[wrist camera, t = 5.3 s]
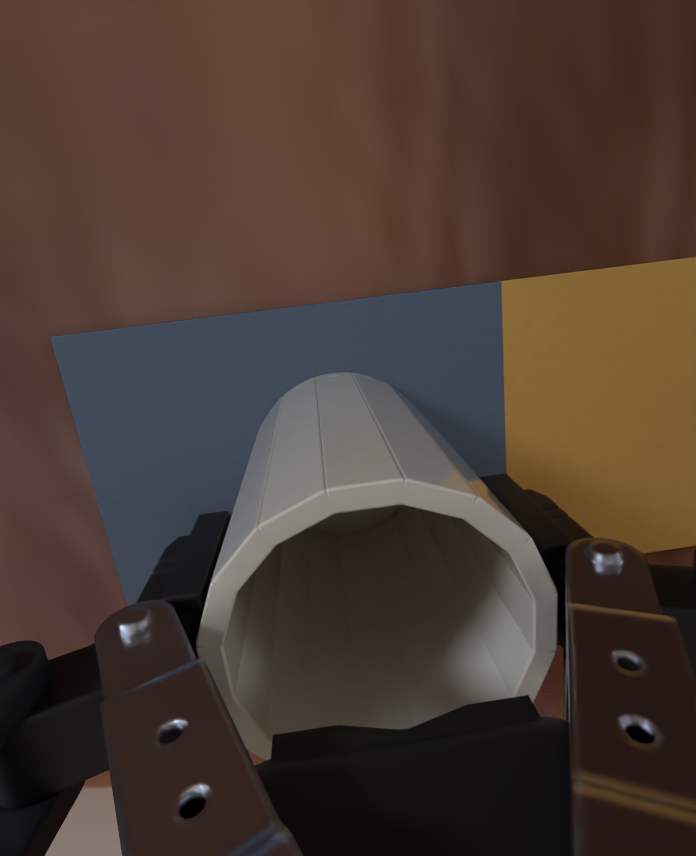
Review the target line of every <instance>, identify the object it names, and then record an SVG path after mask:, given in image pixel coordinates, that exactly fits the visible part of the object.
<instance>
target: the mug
mask: <svg viewBox="0 0 696 856" xmlns="http://www.w3.org/2000/svg"><path fill="white" fill-rule="evenodd" d="M557 641H558V593H557V588H556V586H555V584H554V582H553V580H552V578H551V576H550V573H549V571H548V569H547V567H546V565H545V563H544V561H543V559H542V557H541V555H540V553H539V551H538V549H537V547H536V545H535V543H534V541H533V539H532V537H531V536H530V535H529V534H528V533H527V531H526V530H525V529H524V528H523V527H522V526H521V525H520V524H519V522H518V521H517V520H516V519H515V518H514V517H513V516H512V514H511V513H510V512H509V511H508V510H507V509H506V508H505V507H504V505H503V504H502V503H501V502H500V501H499V500H498V499H497V498H496V496H495V495H494V494H493V493H492V492H491V491H490V490H489V488H488V487H487V486H486V485H485V484H484V483H483V482H482V481H481V479H480V478H479V477H478V476H477V475H476V474H475V473H474V471H473V470H472V469H471V468H470V467H469V466H468V465H467V464H466V462H465V461H464V460H463V459H462V458H461V457H460V456H459V455H458V453H457V452H456V451H455V450H454V449H453V448H452V447H451V445H450V444H449V443H448V442H447V441H446V440H445V439H444V438H443V436H442V435H441V434H440V433H439V432H438V431H437V430H436V428H435V427H434V426H433V425H432V424H431V423H430V422H429V421H428V419H427V418H426V417H425V416H424V415H423V414H422V413H421V412H420V410H419V409H418V408H417V407H416V406H415V405H414V404H413V403H412V402H410V401H409V400H408V399H407V398H406V397H405V396H404V395H403V394H401V393H400V392H399V391H398V390H397V389H395V388H394V387H392V386H391V385H389V384H387V383H385V382H383V381H381V380H379V379H377V378H374V377H371V376H368V375H363V374H358V373H348V372H341V373H330V374H325V375H320V376H317V377H314V378H311V379H308V380H306V381H304V382H302V383H300V384H298V385H297V386H295V387H294V388H292V389H291V390H289V391H288V392H287V393H285V394H284V395H283V396H282V397H281V398H280V399H279V400H278V401H277V402H276V403H275V404H274V405H273V407H272V408H271V409H270V411H269V412H268V414H267V415H266V417H265V419H264V421H263V422H262V424H261V425H260V427H259V430H258V433H257V436H256V440H255V443H254V446H253V449H252V452H251V455H250V459H249V462H248V465H247V468H246V471H245V474H244V478H243V481H242V484H241V487H240V490H239V494H238V497H237V500H236V503H235V506H234V509H233V513H232V516H231V519H230V522H229V525H228V528H227V532H226V535H225V538H224V541H223V544H222V547H221V551H220V554H219V557H218V560H217V563H216V566H215V570H214V573H213V576H212V579H211V582H210V586H209V590H208V594H207V598H206V602H205V606H204V610H203V614H202V618H201V622H200V626H199V630H198V635H197V639H196V651H197V655H198V658H199V657H203V659H204V660H205V662H206V664H207V666H208V668H209V671H210V673H211V675H212V677H213V679H214V681H215V683H216V685H217V688H218V690H219V692H220V694H221V696H222V698H223V700H224V702H225V705H226V707H227V709H228V711H229V713H230V715H231V717H232V719H233V721H234V724H235V726H236V728H237V730H238V732H239V734H240V736H241V738H242V741H243V743H244V745H245V747H246V749H247V750H249V751H250V752H251V753H253V754H255V755H257V756H259V757H261V758H263V759H265V760H266V761H267V760H269V759H271V751H272V737H273V735H276V734H282V733H289V732H295V731H301V730H308V729H314V728H320V727H327V726H333V725H344V726H358V727H371V728H385V729H408V728H411V727H414V726H416V725H419V724H421V723H424V722H426V721H428V720H431V719H433V718H436V717H438V716H440V715H443V714H445V713H448V712H450V711H453V710H455V709H457V708H460V707H462V706H465V705H468V704H474V703H480V702H487V701H493V700H499V699H506V698H512V697H519V696H525V695H529V697H530V699H531V701H532V703H533V702H534V700H535V698H536V696H537V694H538V692H539V689H540V687H541V685H542V683H543V681H544V679H545V677H546V675H547V672H548V670H549V668H550V666H551V664H552V662H553V660H554V658H555V655H556V651H557Z"/></svg>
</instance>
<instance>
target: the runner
mask: <svg viewBox="0 0 696 856" xmlns="http://www.w3.org/2000/svg"><path fill="white" fill-rule="evenodd" d="M51 341H52V345H53V348H54V351H55V355H56V358H57V362H58V365H59V369H60V372H61V376H62V379H63V383H64V386H65V390H66V393H67V397H68V400H69V404H70V407H71V411H72V414H73V418H74V421H75V425H76V428H77V432H78V435H79V438H80V442H81V445H82V449H83V452H84V456H85V459H86V463H87V466H88V470H89V473H90V477H91V480H92V484H93V487H94V491H95V494H96V498H97V501H98V505H99V508H100V512H101V515H102V519H103V522H104V525H105V529H106V532H107V536H108V539H109V543H110V546H111V550H112V553H113V557H114V560H115V564H116V567H117V571H118V574H119V578H120V581H121V585H122V588H123V592H124V595H125V599H126V602H127V606H129V605H132V604H135V603H136V602H137V600H138V599H139V597H140V595H141V593H142V591H143V589H144V587H145V585H146V583H147V582H148V580H149V578H150V576H151V575H152V574H153V570H154V568H155V566H156V565H157V564H158V561H159V559H160V557H161V555H162V553H163V551H164V550H165V548H166V547H167V546H169V545H170V544H171V543H172V542H173V541H175V540H176V539H177V538H178V537H179V536H187V535H190V533H191V531H192V529H193V527H194V525H195V522H196V520H197V518H198V516H199V515H200V514H205V513H213V512H220V511H228V510H230V511H231V513H233V509H234V506H235V503H236V500H237V497H238V494H239V490H240V487H241V484H242V481H243V478H244V474H245V471H246V468H247V465H248V462H249V459H250V455H251V452H252V449H253V446H254V443H255V440H256V436H257V433H258V430H259V427H260V425H261V424H262V422H263V421H264V419H265V417H266V415H267V414H268V412H269V411H270V409H271V408H272V407H273V405H274V404H275V403H276V402H277V401H278V400H279V399H280V398H281V397H282V396H283V395H284V394H285V393H287V392H288V391H289V390H291V389H292V388H294V387H295V386H297V385H298V384H300V383H302V382H304V381H306V380H308V379H311V378H314V377H317V376H320V375H325V374H330V373H341V372H348V373H358V374H363V375H368V376H371V377H374V378H377V379H379V380H381V381H383V382H385V383H387V384H389V385H391V386H392V387H394V388H395V389H397V390H398V391H399V392H400V393H401V394H403V395H404V396H405V397H406V398H407V399H408V400H409V401H410V402H412V403H413V404H414V405H415V406H416V407H417V408H418V409H419V410H420V412H421V413H422V414H423V415H424V416H425V417H426V418H427V419H428V421H429V422H430V423H431V424H432V425H433V426H434V427H435V428H436V430H437V431H438V432H439V433H440V434H441V435H442V436H443V438H444V439H445V440H446V441H447V442H448V443H449V444H450V445H451V447H452V448H453V449H454V450H455V451H456V452H457V453H458V455H459V456H460V457H461V458H462V459H463V460H464V461H465V462H466V464H467V465H468V466H469V467H470V468H471V469H472V470H473V471H474V473H475V474H476V475H477V476H478V477H482V476H490V475H497V474H504V473H505V474H507V475H508V476H509V477H510V478H512V479H513V480H514V481H515V482H516V483H517V484H518V485H519V486H520V487H521V488H522V489H523V490H526V489H531V490H533V491H536V492H538V493H541V494H543V495H545V496H548V497H549V498H550V499H551V500H552V501H553V502H554V503H555V504H557V505H558V506H559V508H561V509H562V510H563V511H564V512H566V513H567V514H568V517H571V518H572V519H573V520H575V521H576V522H577V523H578V524H579V525H580V526H581V527H582V528H584V529H585V530H586V531H587V532H588V533H589V534H590V535H591V536H593V537H594V538H608V539H613V540H617V541H621V542H624V543H627V544H629V545H631V546H633V547H635V548H636V549H638V550H639V551H641V552H642V553H649V552H656V551H663V550H670V549H676V548H683V547H690V546H696V257H692V258H684V259H676V260H668V261H660V262H652V263H644V264H636V265H628V266H620V267H611V268H603V269H595V270H587V271H579V272H571V273H563V274H555V275H547V276H539V277H531V278H523V279H514V280H506V281H498V282H490V283H482V284H474V285H466V286H458V287H450V288H442V289H434V290H426V291H417V292H409V293H401V294H393V295H385V296H377V297H369V298H361V299H353V300H345V301H337V302H329V303H320V304H312V305H304V306H296V307H288V308H280V309H272V310H264V311H256V312H248V313H240V314H232V315H223V316H215V317H207V318H199V319H191V320H183V321H175V322H167V323H159V324H151V325H143V326H135V327H126V328H118V329H110V330H102V331H94V332H86V333H78V334H70V335H62V336H54V337H51Z"/></svg>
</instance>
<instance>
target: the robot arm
mask: <svg viewBox="0 0 696 856" xmlns="http://www.w3.org/2000/svg"><path fill="white" fill-rule="evenodd" d="M479 478H480V479H481V481H482V482H483V483H484V484H485V485H486V486H487V487H488V488H489V490H490V491H491V492H492V493H493V494H494V495H495V496H496V498H497V499H498V500H499V501H500V502H501V503H502V504H503V505H504V507H505V508H506V509H507V510H508V511H509V512H510V513H511V514H512V516H513V517H514V518H515V519H516V520H517V521H518V522H519V524H520V525H521V526H522V527H523V528H524V529H525V530H526V531H527V533H528V534H529V535H530V536H531V537H532V539H533V541H534V543H535V545H536V547H537V549H538V551H539V553H540V555H541V557H542V559H543V561H544V563H545V565H546V567H547V569H548V571H549V573H550V576H551V578H552V580H553V582H554V584H555V586H556V588H557V593H558V641H557V645H561V647H562V648H563V650H564V652H563V701H564V720H562V719H556V718H551V717H541V716H539V714H538V712H537V710H536V708H535V706H534V705H533V703H532V701H531V699H530V697H529V695H525V696H519V697H512V698H506V699H499V700H493V701H487V702H480V703H474V704H468V705H465V706H462V707H460V708H457V709H455V710H453V711H450V712H448V713H445V714H443V715H440V716H438V717H436V718H433V719H431V720H428V721H426V722H424V723H421V724H419V725H416V726H414V727H411V728H408V729H385V728H371V727H358V726H344V725H333V726H327V727H320V728H314V729H308V730H301V731H295V732H289V733H282V734H276V735H273V737H272V751H271V759H269V760H267V761H264V762H262V763H260V764H258V765H256V766H254V764H253V762H252V760H251V757H250V755H249V753H248V751H247V749H246V747H245V745H244V743H243V741H242V738H241V736H240V734H239V732H238V730H237V728H236V726H235V724H234V721H233V719H232V717H231V715H230V713H229V711H228V709H227V707H226V705H225V702H224V700H223V698H222V696H221V694H220V692H219V690H218V688H217V685H216V683H215V681H214V679H213V677H212V675H211V673H210V671H209V668H208V666H207V664H206V662H205V660H204V659H203V657H199V658H198V655H197V651H196V639H197V635H198V630H199V626H200V622H201V618H202V614H203V610H204V606H205V602H206V598H207V594H208V590H209V586H210V582H211V579H212V576H213V573H214V570H215V566H216V563H217V560H218V557H219V554H220V551H221V547H222V544H223V541H224V538H225V535H226V532H227V528H228V525H229V522H230V519H231V516H232V513H231V511H230V510H228V511H220V512H213V513H205V514H200V515H199V516H198V518H197V520H196V522H195V525H194V527H193V529H192V531H191V533H190V535H187V536H179V537H178V538H177V539H176V540H175V541H173V542H172V543H171V544H170V545H169V546H167V547H166V548H165V550H164V551H163V553H162V555H161V557H160V559H159V561H158V564H157V565H156V566H155V568H154V570H153V574H152V575H151V576H150V578H149V580H148V582H147V583H146V585H145V587H144V589H143V591H142V593H141V595H140V597H139V599H138V600H137V602H136V603H135V604H132V605H129V606H127V607H125V608H123V609H121V610H119V611H117V612H115V613H114V614H112V615H111V616H110V617H108V618H107V619H106V620H105V621H104V622H103V623H102V624H101V625H100V626H99V628H98V629H97V631H96V633H95V636H94V641H95V643H94V644H92V645H90V646H87V647H85V648H82V649H79V650H77V651H74V652H71V653H68V654H65V655H62V656H59V657H56V658H53V659H51V660H48V659H47V656H46V653H45V650H44V648H43V646H42V645H41V644H40V643H38V642H36V641H18V642H14V643H10V644H6V645H3V646H1V647H0V856H45V854H46V852H47V850H48V848H49V847H50V845H51V843H52V841H53V840H54V838H55V836H56V834H57V832H58V831H59V829H60V827H61V825H62V824H63V822H64V820H65V818H66V816H67V815H68V813H69V811H70V809H71V807H72V806H73V804H74V802H75V800H76V799H77V797H78V795H79V793H80V791H81V789H82V787H83V785H84V782H85V780H87V779H89V778H91V777H94V776H96V775H98V774H100V773H103V772H105V771H107V770H110V777H111V784H112V790H113V796H114V804H115V810H116V817H117V823H118V830H119V837H120V843H121V850H122V856H696V550H695V552H694V559H693V567H684V566H663V565H650V564H648V562H647V559H646V557H645V556H644V554H643V553H642V552H641V551H639V550H638V549H636V548H635V547H633V546H631V545H629V544H627V543H624V542H621V541H617V540H613V539H608V538H594V537H593V536H591V535H590V534H589V533H588V532H587V531H586V530H585V529H584V528H582V527H581V526H580V525H579V524H578V523H577V522H576V521H575V520H573V519H572V518H571V517H568V514H567V513H566V512H564V511H563V510H562V509H561V508H559V506H558V505H557V504H555V503H554V502H553V501H552V500H551V499H550V498H549V497H548V496H545V495H543V494H541V493H538V492H536V491H533V490H531V489H526V490H523V489H522V488H521V487H520V486H519V485H518V484H517V483H516V482H515V481H514V480H513V479H512V478H510V477H509V476H508V475H507V474H505V473H504V474H497V475H490V476H482V477H479Z"/></svg>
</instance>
